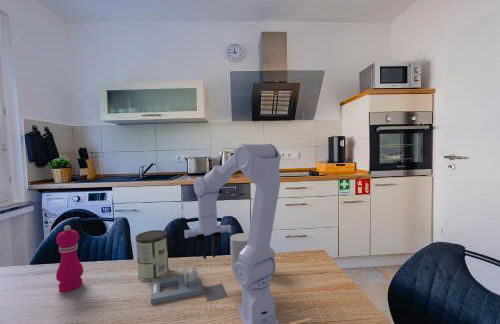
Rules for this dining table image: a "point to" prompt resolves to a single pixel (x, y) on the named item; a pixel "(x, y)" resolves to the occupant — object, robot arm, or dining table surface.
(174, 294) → the board
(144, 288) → the dining table surface
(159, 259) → the coffee can
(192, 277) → the clip
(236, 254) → the cup
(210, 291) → the pad
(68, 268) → the pepper mill
